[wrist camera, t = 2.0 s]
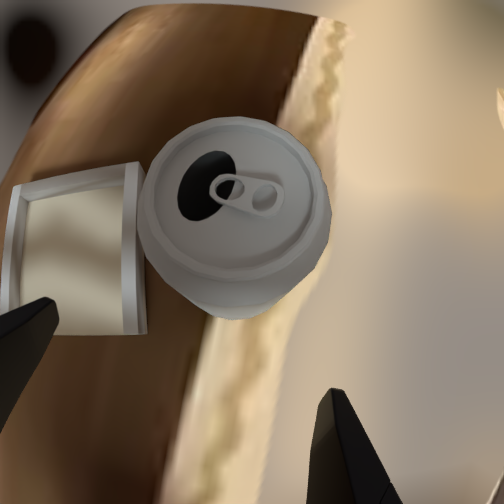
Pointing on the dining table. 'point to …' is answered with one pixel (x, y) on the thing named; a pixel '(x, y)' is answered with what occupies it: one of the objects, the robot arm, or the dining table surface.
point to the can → (234, 215)
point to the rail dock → (79, 250)
